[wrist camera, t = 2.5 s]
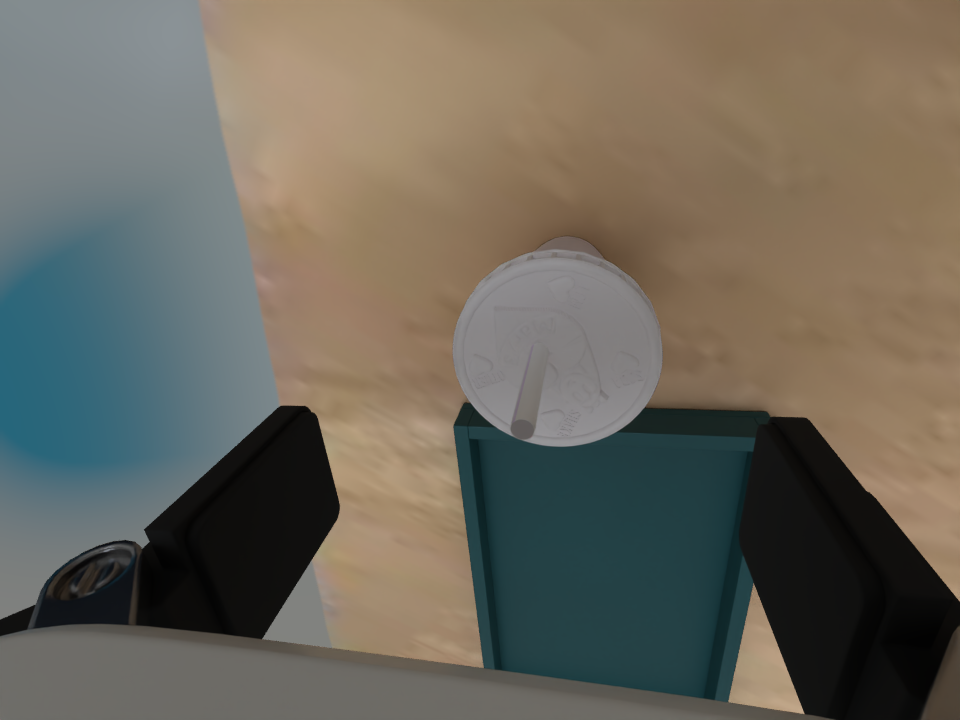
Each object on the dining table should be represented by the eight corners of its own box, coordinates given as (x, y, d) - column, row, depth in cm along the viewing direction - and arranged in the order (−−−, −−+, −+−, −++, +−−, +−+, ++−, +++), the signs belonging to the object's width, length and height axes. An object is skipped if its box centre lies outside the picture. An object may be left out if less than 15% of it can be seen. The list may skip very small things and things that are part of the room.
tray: (767, 411, 24) (785, 439, 22) (709, 718, 35) (716, 756, 33) (463, 402, 27) (452, 425, 25) (495, 684, 38) (489, 717, 36)
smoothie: (567, 174, 21) (538, 239, 9) (666, 274, 22) (765, 460, 10) (473, 276, 24) (351, 433, 12) (564, 361, 25) (541, 589, 13)
